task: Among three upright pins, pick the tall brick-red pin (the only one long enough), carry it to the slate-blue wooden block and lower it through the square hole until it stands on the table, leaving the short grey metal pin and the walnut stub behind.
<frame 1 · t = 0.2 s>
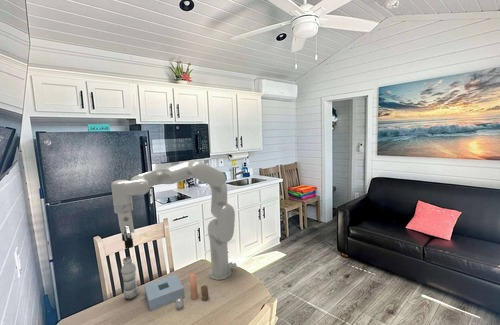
hand: (127, 243, 113), 31 cm above the table, fingers open, 9 cm apart
short pin: (179, 307, 114), on the table
long pin: (194, 297, 121), on the table
hole block: (164, 295, 123), on the table
mid pin: (205, 298, 119), on the table
plastic bottle: (131, 296, 124), on the table
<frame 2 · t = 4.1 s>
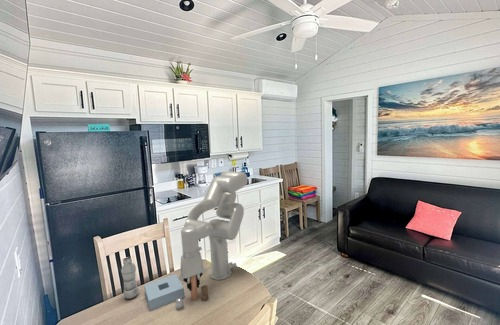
hand: (193, 287, 120), 5 cm above the table, fingers closed on long pin, 3 cm apart
long pin: (194, 297, 121), on the table, touching gripper
everything else where it was.
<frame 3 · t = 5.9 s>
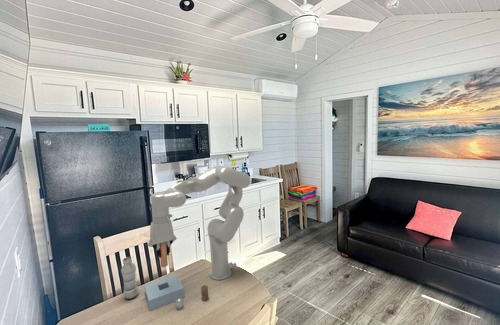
hand: (163, 255, 119), 22 cm above the table, fingers closed on long pin, 3 cm apart
long pin: (164, 265, 120), point 17 cm above the table, touching gripper
everything else where it was.
when the fingers open (7 cm above the table, at t = 8.2 s): long pin drops 2 cm, resting in hole block.
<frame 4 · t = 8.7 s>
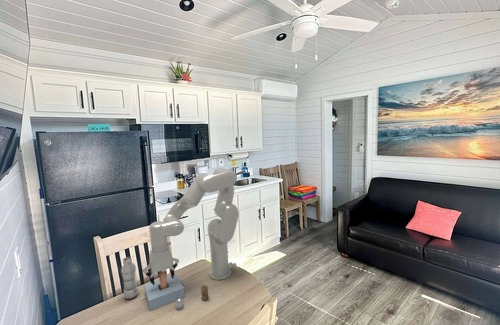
hand: (163, 280, 122), 8 cm above the table, fingers open, 8 cm apart
long pin: (164, 295, 123), resting in hole block
everything else where it was.
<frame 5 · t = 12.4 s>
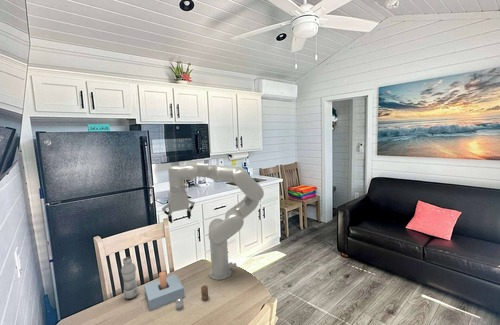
hand: (180, 220, 133), 33 cm above the table, fingers open, 9 cm apart
nothing on the table moved.
at the end: long pin 0.1 cm off-centre on the hole block, point 0.0 cm above the hole block's base; long pin tilted 0°; the gripper is holding nothing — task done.
